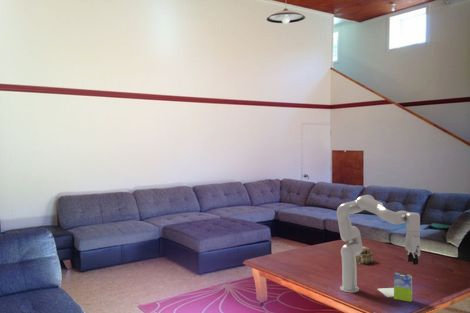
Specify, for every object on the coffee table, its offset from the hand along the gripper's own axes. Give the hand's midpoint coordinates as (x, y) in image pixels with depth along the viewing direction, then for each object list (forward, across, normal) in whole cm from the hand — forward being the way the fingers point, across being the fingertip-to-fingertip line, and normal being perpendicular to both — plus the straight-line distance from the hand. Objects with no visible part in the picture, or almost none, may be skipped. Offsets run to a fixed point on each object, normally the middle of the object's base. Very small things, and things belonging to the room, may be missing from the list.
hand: (413, 262), depth 239 cm
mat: (+27, -24, 0) cm, 36 cm away
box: (+28, -12, 0) cm, 30 cm away
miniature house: (+28, -93, +7) cm, 98 cm away
